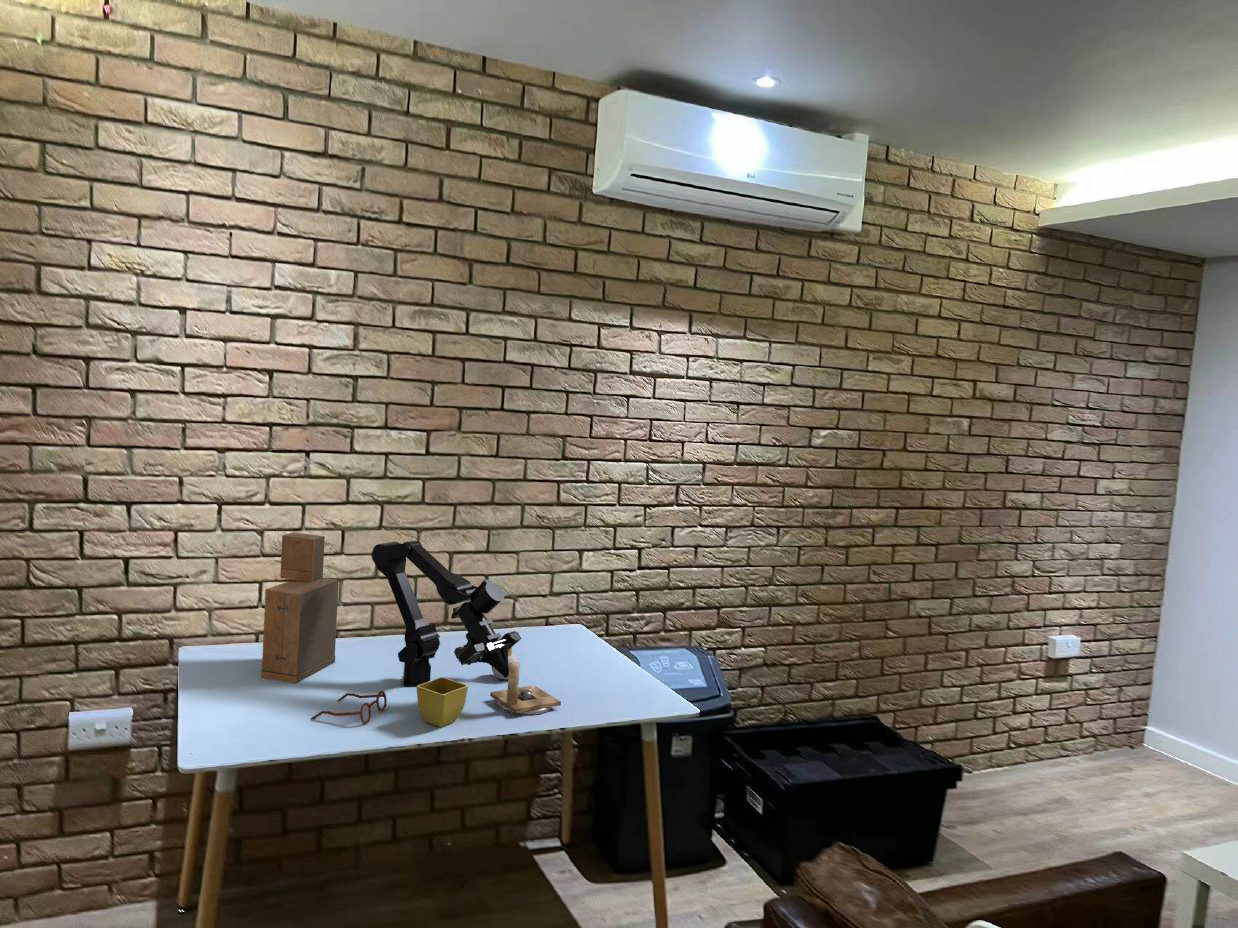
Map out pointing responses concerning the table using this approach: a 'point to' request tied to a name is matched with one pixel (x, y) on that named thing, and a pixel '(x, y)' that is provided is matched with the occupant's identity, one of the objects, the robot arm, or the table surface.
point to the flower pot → (441, 700)
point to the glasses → (361, 706)
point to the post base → (524, 696)
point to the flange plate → (513, 693)
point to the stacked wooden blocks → (300, 613)
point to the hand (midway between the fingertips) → (507, 676)
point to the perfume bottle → (510, 659)
